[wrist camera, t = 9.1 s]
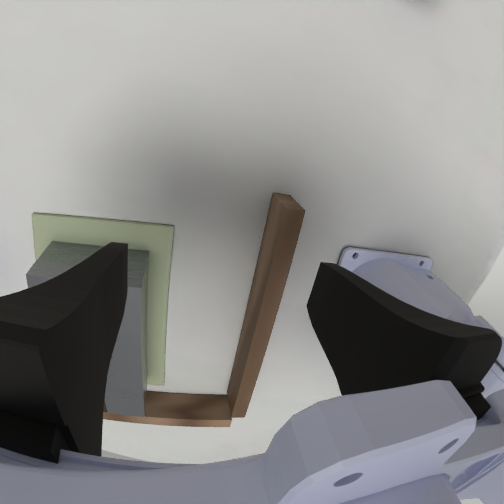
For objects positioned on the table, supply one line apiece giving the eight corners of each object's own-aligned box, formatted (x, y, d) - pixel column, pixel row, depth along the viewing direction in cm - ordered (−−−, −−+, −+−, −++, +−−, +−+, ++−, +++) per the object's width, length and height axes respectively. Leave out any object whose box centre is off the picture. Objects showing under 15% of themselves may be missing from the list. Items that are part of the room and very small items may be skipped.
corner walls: (290, 195, 21) (305, 210, 18) (236, 402, 29) (241, 426, 27) (-12, 168, 16) (-36, 179, 13) (30, 380, 24) (21, 402, 21)
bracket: (147, 375, 25) (145, 417, 21) (71, 365, 24) (60, 405, 20) (149, 250, 20) (141, 288, 16) (52, 240, 19) (26, 274, 15)
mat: (174, 225, 20) (173, 227, 20) (164, 383, 26) (164, 385, 26) (33, 212, 18) (31, 214, 18) (59, 369, 24) (58, 372, 24)
